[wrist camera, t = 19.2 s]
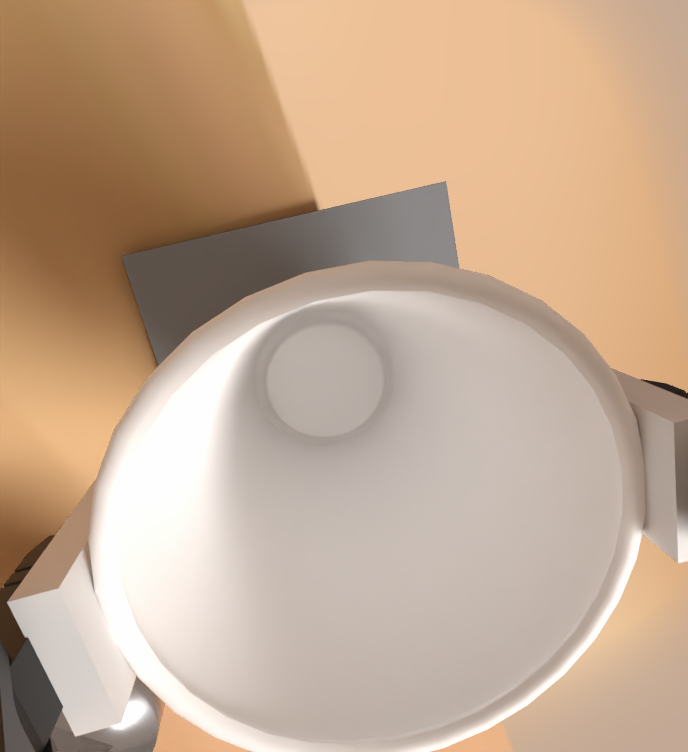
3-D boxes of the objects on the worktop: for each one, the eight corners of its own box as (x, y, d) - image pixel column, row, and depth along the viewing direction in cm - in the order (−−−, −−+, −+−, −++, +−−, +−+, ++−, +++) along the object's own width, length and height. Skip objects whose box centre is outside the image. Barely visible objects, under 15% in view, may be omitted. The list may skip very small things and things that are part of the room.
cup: (473, 454, 21) (671, 673, 11) (241, 527, 21) (208, 834, 10) (420, 210, 18) (622, 180, 8) (148, 289, 18) (-33, 372, 7)
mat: (125, 255, 19) (120, 256, 18) (440, 182, 19) (446, 181, 19) (219, 533, 22) (218, 541, 22) (484, 463, 23) (489, 468, 22)
